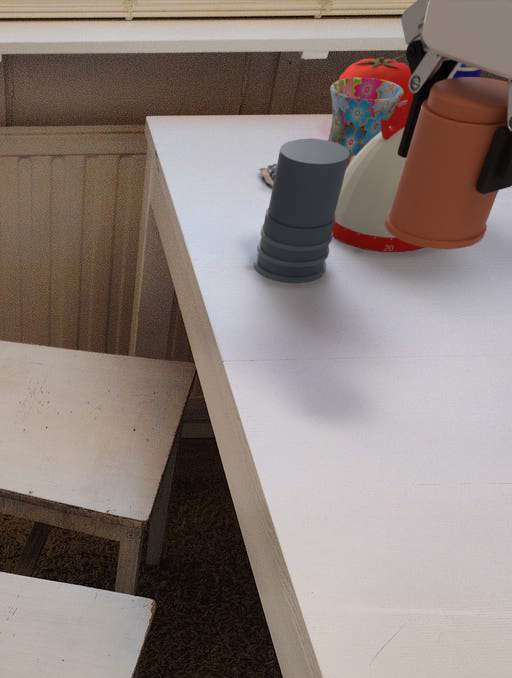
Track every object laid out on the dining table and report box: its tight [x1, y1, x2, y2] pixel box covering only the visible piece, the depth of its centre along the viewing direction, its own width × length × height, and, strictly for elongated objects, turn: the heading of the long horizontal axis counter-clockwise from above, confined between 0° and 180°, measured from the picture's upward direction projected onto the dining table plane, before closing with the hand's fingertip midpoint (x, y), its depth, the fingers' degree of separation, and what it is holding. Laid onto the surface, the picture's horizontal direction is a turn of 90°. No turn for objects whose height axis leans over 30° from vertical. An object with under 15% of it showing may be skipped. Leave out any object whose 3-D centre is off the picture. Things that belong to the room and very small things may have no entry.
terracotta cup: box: [385, 76, 508, 250], centre depth 59 cm, size 7×7×9 cm
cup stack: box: [253, 138, 350, 284], centre depth 94 cm, size 8×8×13 cm
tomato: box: [338, 54, 412, 127], centre depth 122 cm, size 12×12×10 cm
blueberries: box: [258, 163, 277, 188], centre depth 115 cm, size 7×8×2 cm
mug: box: [327, 78, 408, 169], centre depth 112 cm, size 12×9×11 cm
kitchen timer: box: [332, 92, 423, 253], centre depth 100 cm, size 14×14×15 cm
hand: (453, 168), depth 59 cm, fingers closed on terracotta cup, 6 cm apart
